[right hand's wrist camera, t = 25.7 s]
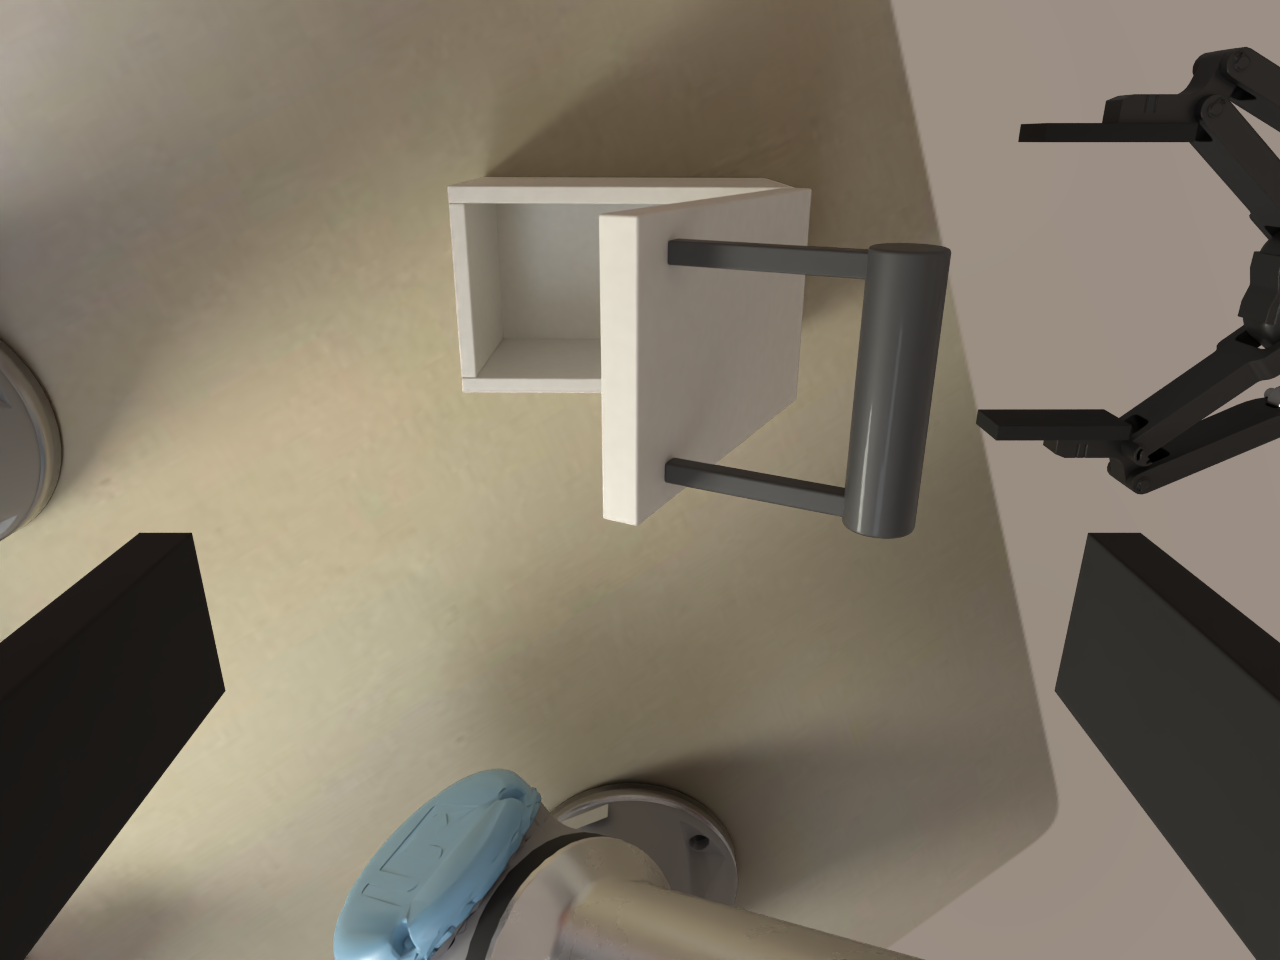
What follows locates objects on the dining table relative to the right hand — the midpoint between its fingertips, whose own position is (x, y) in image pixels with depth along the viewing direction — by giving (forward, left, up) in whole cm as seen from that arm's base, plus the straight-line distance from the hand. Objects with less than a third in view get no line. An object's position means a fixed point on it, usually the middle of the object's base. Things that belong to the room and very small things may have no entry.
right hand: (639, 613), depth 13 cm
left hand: (+4, -17, -30) cm, 35 cm away
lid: (+1, -2, -21) cm, 21 cm away
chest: (0, +1, -37) cm, 37 cm away
